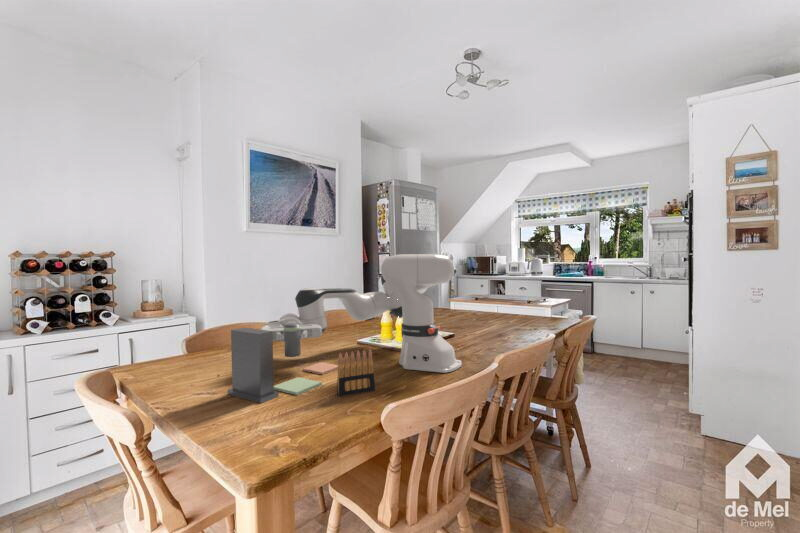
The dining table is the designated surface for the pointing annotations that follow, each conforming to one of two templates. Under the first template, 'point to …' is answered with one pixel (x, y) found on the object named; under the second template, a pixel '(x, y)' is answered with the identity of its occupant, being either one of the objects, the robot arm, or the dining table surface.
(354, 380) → the ammunition clip
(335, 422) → the dining table surface
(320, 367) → the terracotta pad
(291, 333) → the cartridge
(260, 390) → the block
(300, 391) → the sage green pad
